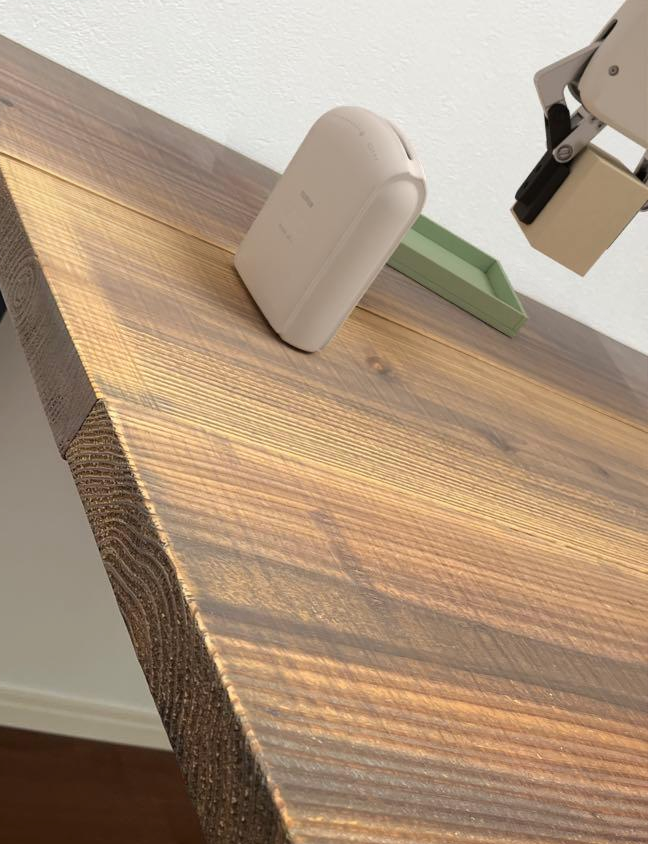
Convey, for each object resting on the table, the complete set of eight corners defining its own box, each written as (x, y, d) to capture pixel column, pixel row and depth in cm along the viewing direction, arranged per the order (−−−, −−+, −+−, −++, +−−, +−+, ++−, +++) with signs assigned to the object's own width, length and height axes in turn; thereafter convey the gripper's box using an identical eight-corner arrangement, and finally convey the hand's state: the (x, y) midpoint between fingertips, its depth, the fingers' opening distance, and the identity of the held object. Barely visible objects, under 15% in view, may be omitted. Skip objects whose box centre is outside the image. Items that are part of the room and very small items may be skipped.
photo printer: (221, 255, 67) (331, 75, 61) (273, 277, 69) (385, 105, 63) (271, 342, 60) (401, 148, 53) (327, 363, 62) (460, 179, 55)
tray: (485, 279, 101) (499, 261, 100) (512, 338, 89) (529, 318, 87) (364, 206, 99) (378, 187, 98) (375, 257, 87) (390, 235, 85)
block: (556, 238, 72) (619, 159, 68) (583, 277, 65) (653, 192, 62) (508, 209, 71) (569, 129, 68) (530, 246, 64) (599, 159, 61)
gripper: (673, -130, 53) (450, 187, 63) (924, 38, 56) (670, 318, 66) (634, -133, 60) (436, 157, 70) (861, 19, 62) (638, 278, 72)
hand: (552, 232), depth 68 cm, fingers closed on block, 4 cm apart
